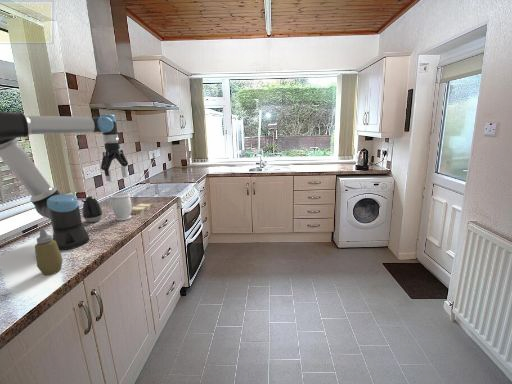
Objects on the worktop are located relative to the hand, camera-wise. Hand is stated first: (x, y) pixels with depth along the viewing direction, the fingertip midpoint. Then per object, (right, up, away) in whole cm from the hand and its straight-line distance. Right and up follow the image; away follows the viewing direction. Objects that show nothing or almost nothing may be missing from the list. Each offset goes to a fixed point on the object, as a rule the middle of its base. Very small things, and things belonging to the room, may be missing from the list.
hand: (117, 179), depth 161 cm
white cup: (+1, -24, +6) cm, 25 cm away
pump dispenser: (-16, -25, +3) cm, 30 cm away
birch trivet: (+5, -20, +21) cm, 29 cm away
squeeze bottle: (+2, -39, -54) cm, 66 cm away
